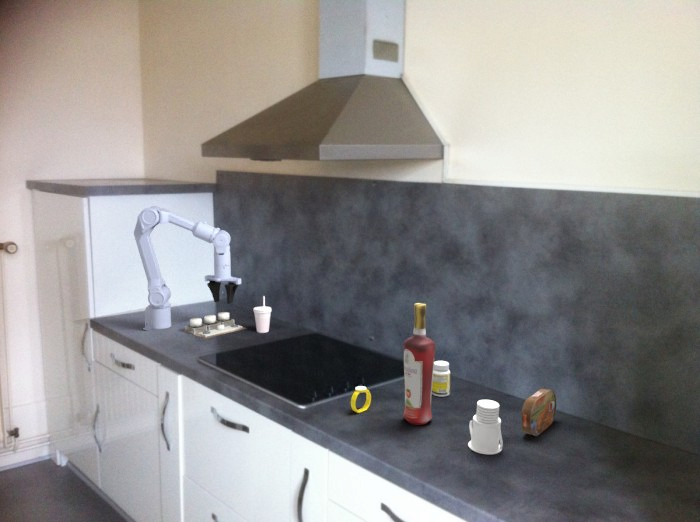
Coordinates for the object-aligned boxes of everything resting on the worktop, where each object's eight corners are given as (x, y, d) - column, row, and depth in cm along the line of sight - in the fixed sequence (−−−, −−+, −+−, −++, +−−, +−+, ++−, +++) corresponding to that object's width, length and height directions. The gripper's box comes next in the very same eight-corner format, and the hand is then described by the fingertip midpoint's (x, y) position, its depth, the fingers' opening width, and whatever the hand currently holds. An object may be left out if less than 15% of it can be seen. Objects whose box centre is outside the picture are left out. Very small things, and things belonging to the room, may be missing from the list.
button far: (215, 319, 233) (215, 313, 232) (224, 317, 236) (224, 311, 235) (222, 321, 230) (222, 315, 230) (231, 319, 233) (231, 313, 233)
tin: (531, 441, 141) (533, 404, 140) (517, 437, 143) (519, 401, 142) (556, 420, 153) (558, 386, 152) (543, 417, 155) (545, 383, 154)
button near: (187, 325, 224) (187, 319, 223) (197, 323, 227) (197, 317, 226) (194, 327, 221) (194, 321, 221) (204, 325, 224) (204, 319, 224)
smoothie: (270, 337, 222) (270, 298, 220) (252, 337, 223) (251, 297, 220) (273, 333, 229) (272, 294, 227) (255, 332, 229) (254, 294, 227)
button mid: (202, 322, 228) (201, 316, 228) (211, 320, 231) (211, 314, 231) (208, 324, 226) (208, 318, 225) (218, 322, 229) (218, 316, 228)
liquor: (395, 419, 153) (397, 303, 148) (418, 412, 157) (421, 299, 153) (416, 429, 147) (419, 309, 142) (439, 422, 151) (443, 305, 147)
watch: (357, 416, 155) (356, 393, 154) (348, 413, 157) (347, 390, 156) (373, 408, 159) (372, 385, 158) (365, 405, 161) (364, 383, 160)
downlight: (459, 446, 138) (462, 402, 137) (478, 436, 143) (481, 394, 141) (491, 460, 133) (495, 414, 131) (509, 449, 138) (513, 405, 136)
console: (181, 335, 225) (181, 325, 225) (222, 325, 239) (222, 316, 238) (205, 342, 216) (205, 332, 215) (247, 332, 229) (247, 322, 229)
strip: (198, 334, 220) (198, 328, 220) (235, 326, 232) (235, 320, 232) (205, 336, 217) (205, 330, 217) (242, 328, 229) (242, 322, 229)
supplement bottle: (439, 389, 173) (439, 359, 172) (453, 393, 170) (454, 363, 169) (427, 393, 170) (428, 362, 169) (442, 398, 167) (443, 366, 165)
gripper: (198, 265, 229) (199, 302, 231) (232, 268, 223) (233, 306, 225) (211, 262, 236) (212, 298, 238) (244, 265, 229) (245, 302, 232)
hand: (223, 302), depth 232 cm, fingers open, 5 cm apart
